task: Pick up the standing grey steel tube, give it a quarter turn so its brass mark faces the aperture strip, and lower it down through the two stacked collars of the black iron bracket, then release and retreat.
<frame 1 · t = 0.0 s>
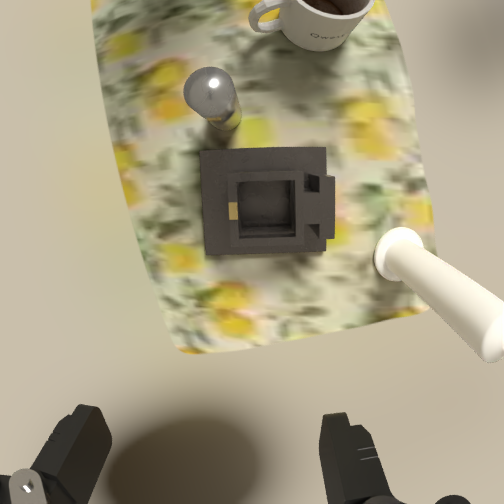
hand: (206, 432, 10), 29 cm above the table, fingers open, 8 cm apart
bracket: (264, 200, 37), on the table
tube: (225, 115, 34), on the table
candle: (397, 253, 39), on the table
mug: (299, 22, 31), on the table
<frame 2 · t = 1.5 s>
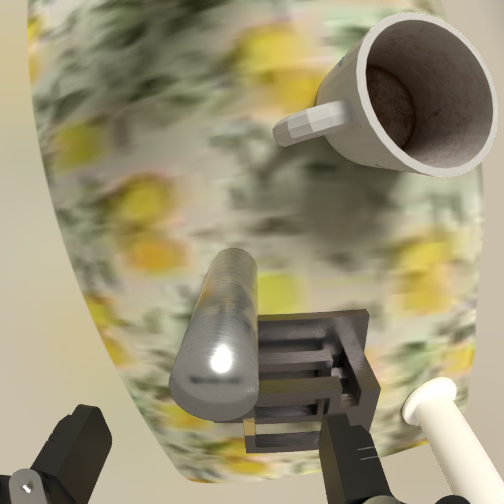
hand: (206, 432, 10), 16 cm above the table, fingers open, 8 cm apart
bracket: (284, 370, 28), on the table
tube: (233, 270, 25), on the table
candle: (428, 399, 30), on the table
mug: (347, 112, 22), on the table
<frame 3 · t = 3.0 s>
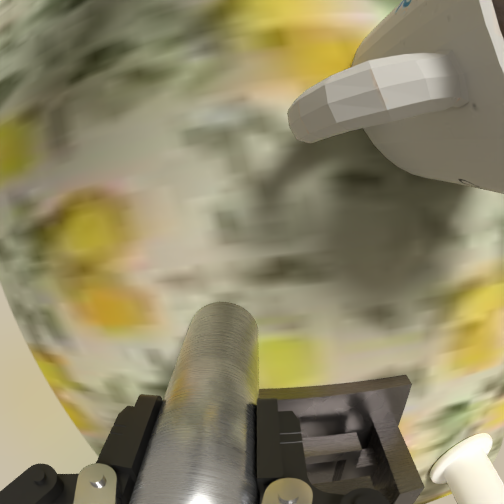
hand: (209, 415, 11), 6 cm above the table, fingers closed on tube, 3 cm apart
bracket: (293, 448, 19), on the table
tube: (223, 332, 17), on the table, touching gripper
candle: (459, 456, 21), on the table
mug: (396, 96, 13), on the table
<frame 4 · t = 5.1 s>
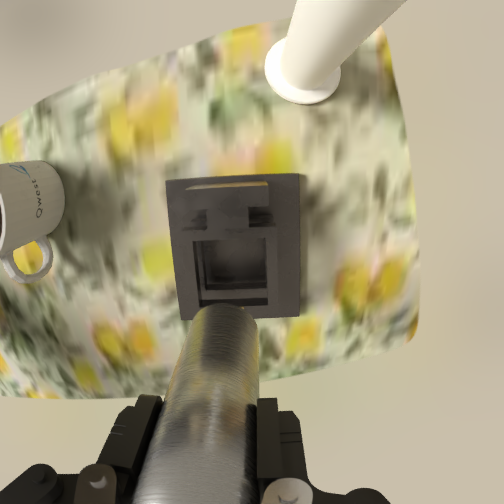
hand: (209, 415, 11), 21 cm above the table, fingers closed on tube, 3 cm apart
bracket: (235, 249, 31), on the table
tube: (224, 333, 17), point 15 cm above the table, touching gripper
candle: (302, 70, 26), on the table
mug: (40, 214, 30), on the table
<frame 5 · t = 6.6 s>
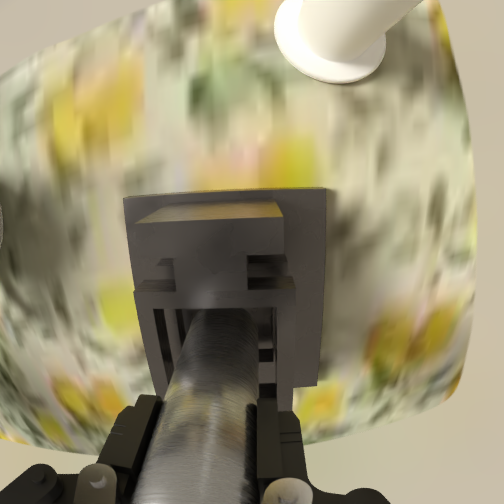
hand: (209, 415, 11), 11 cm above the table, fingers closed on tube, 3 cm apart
bracket: (229, 298, 21), on the table
tube: (224, 333, 17), point 5 cm above the table, touching gripper
candle: (329, 35, 16), on the table
when the fingers open (8 cm above the table, at t = 7.5 s): tube stays where it is, resting on bracket.
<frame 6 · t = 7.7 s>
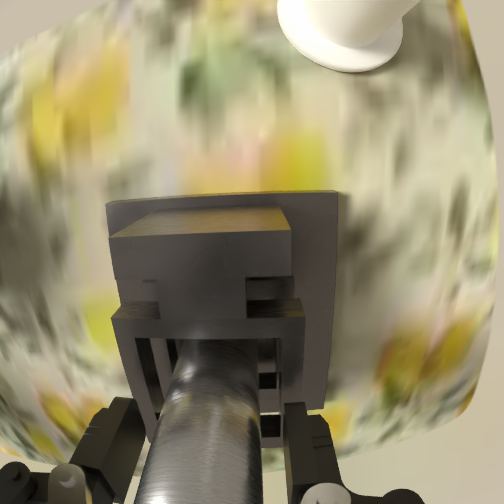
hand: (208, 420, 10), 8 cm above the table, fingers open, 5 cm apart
bracket: (226, 315, 19), on the table
tube: (224, 324, 18), point 1 cm above the table, touching bracket
candle: (340, 18, 14), on the table
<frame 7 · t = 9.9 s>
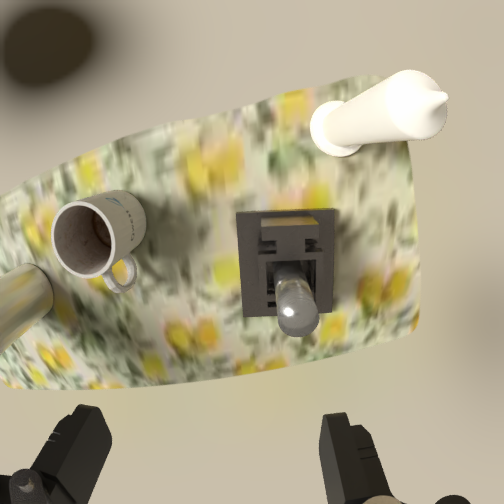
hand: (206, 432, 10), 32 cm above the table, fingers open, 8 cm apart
bracket: (286, 263, 42), on the table
tube: (286, 266, 41), point 1 cm above the table, touching bracket
candle: (337, 128, 37), on the table
mug: (121, 234, 41), on the table
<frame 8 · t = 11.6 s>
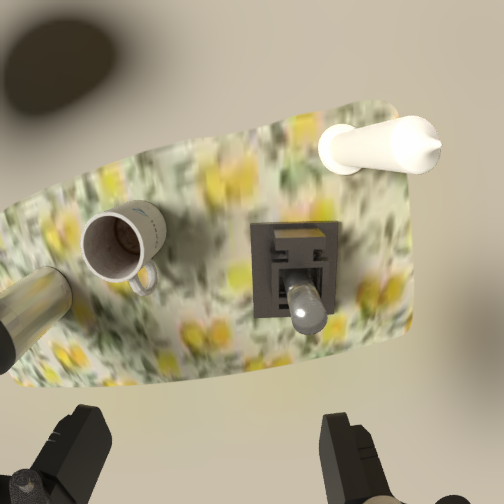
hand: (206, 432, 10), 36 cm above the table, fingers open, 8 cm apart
bracket: (294, 269, 46), on the table
tube: (294, 272, 45), point 1 cm above the table, touching bracket
candle: (342, 149, 42), on the table
mug: (141, 241, 46), on the table
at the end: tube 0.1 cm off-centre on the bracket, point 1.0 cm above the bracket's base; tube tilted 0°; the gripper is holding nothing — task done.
